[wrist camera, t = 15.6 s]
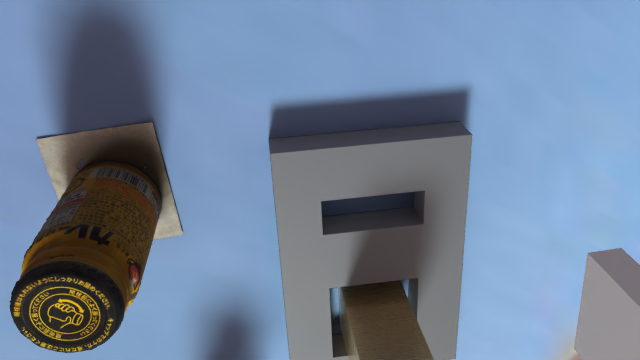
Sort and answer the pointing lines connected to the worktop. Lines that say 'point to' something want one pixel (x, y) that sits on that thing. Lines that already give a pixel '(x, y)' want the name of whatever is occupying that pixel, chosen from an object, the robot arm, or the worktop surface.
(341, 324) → the brass peg
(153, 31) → the worktop surface
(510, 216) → the worktop surface
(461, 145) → the socket plate
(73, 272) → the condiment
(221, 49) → the worktop surface
